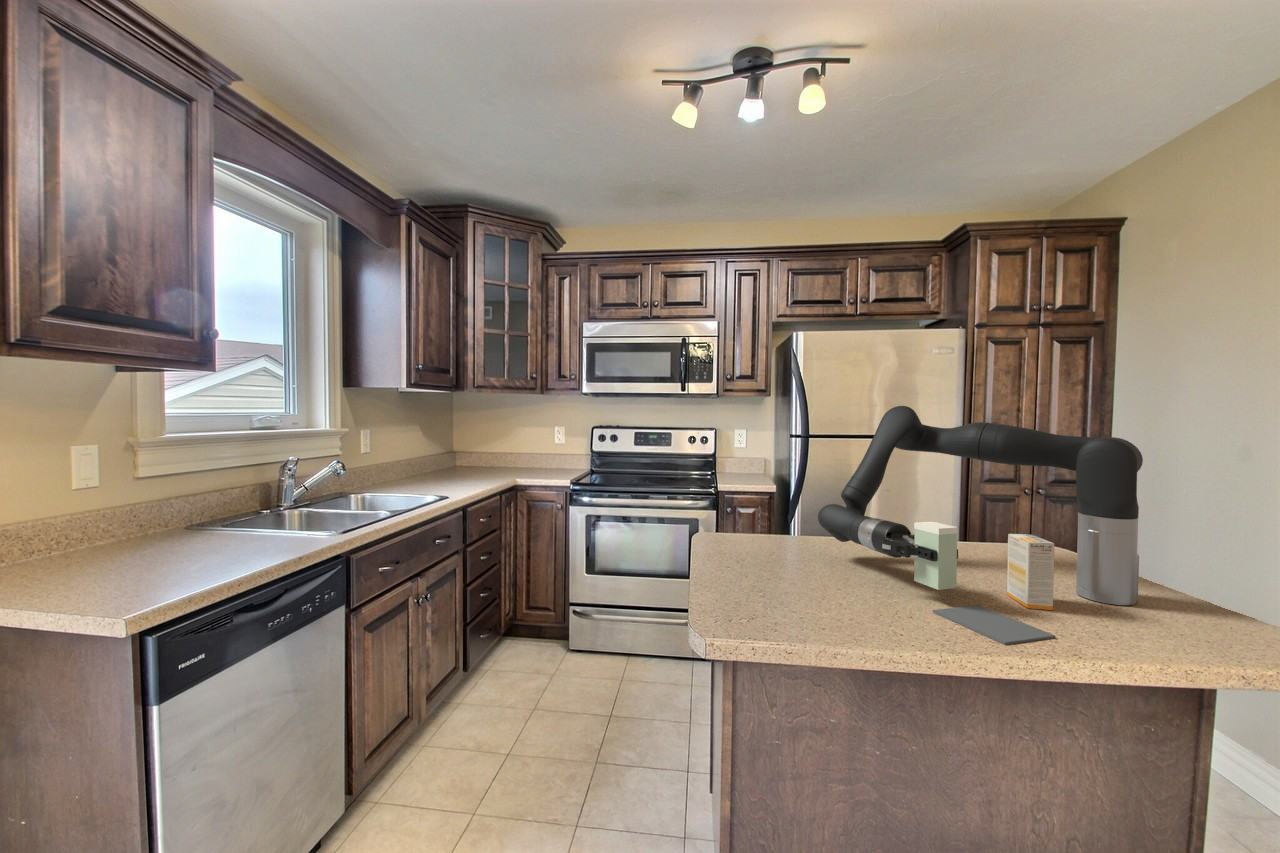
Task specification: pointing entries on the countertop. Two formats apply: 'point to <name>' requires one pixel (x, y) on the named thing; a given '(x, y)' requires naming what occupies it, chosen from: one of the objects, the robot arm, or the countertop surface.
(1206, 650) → the countertop surface
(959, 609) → the mat
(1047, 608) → the supplement box
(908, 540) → the robot arm
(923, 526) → the sage block
